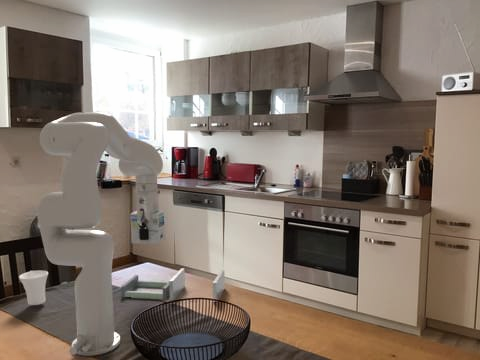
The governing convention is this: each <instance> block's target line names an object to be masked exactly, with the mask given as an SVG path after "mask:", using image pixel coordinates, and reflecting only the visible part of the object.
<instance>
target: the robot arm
mask: <svg viewBox="0 0 480 360" xmlns="http://www.w3.org/2000/svg"><path fill="white" fill-rule="evenodd" d="M39 143H40V146H41V149H43V151H44V152H45V153H46V154H49V155H52V156H55V157H56V156H58V157H60V156H61V157H62V156H70V157H69V158H68V160H67V162H66V163H65V164H64V166H63V168H62V170H61V174H60V183H61V189H62V191H53V192H49V193H46V194H45V195H43V196H42V197H41V199H40V200H39V203H38V206H37V212H36V213H37V221H38V226H39V227H38V228H39V230H40V236H41V241H42V245H43V248H44V253H45V255H46V258H47V259H48V261H49V262H50V263H51V264H52V265H53V264H54V265H57V266H70V267H71V266H73V267H74V266H75V267H81V268H82V269H81V271H80V272H79V274H78V275H77V277H76V279H75V281H74V299H75V302H74V303H75V316H76V317H75V318H76V319H75V320H76V338H75V339H74V340H73V341H72V343H71V346H70V347H71V348H70V349H69V353H70V354H71V355H73V356H74V355H79V356H83V357H84V356H86V357H88V356H89V357H91V356H93V357H94V356H99V355H103V354H106V353H109V352H111V351H113V350H115V349H116V348H118V346H119V345H120V343H121V336H120V334H119V333H117V332H116V331H115V323H114V322H115V319H114V318H115V317H114V298H113V277H112V276H113V275H112V273H113V270H112V269H113V268H112V267H113V258H114V252H115V241H114V238H113V236H112V235H111V234H110V233H108V232H106V231H103V230H99V229H93V228H95V227H97V226H99V225H100V223H101V222H102V219H103V207H102V202H101V196H100V190H99V185H98V177H97V176H98V175H97V174H98V168H99V164H100V162H101V159H102V157H103V155H104V153H105V152H106V153H107V154H108V155H109V156H110V157H111V158H113V159H116V160H118V168H119V169H118V170H119V171H120V173H122V174H123V175H124V176H130V177H134V176H135V178H134V179H135V193H136V194H137V195H136V211H137V222H138V225H139V237H140V240H149V230H148V229H147V227H148V220H149V221H151V220H152V213H154V212H157V211H160V207H159V206H160V205H159V197H158V175H160V174H161V173H162V172H163V171H162V170H163V168H164V164H163V163H164V161H163V158H162V156H161V154H160V153H159V151H158V149H156V148H155V147H154V146H153V145H152V144H151V143H148V142H146V141H144V140H142V139H139V138H137V137H135V136H133V135H132V136H131V135H130V134H129V133H128V132H127V131H126V129H125V128H124V127H123V126H122V124H121V123H120V122H119V121H118V120H117V119H116V118H115V116H113V115H112V114H110V113H108V112H104V111H102V112H101V111H97V112H95V111H93V112H74V113H71V114H70V113H69V114H67V115H66V116H63V117H60V118H57V119H55V120H53V121H50V122H48V123H47V124H45V125H44V127H42V129H41V131H40V134H39ZM144 215H145V218H146V220H142V219H143V216H144ZM144 222H145V224H144Z"/></svg>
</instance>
